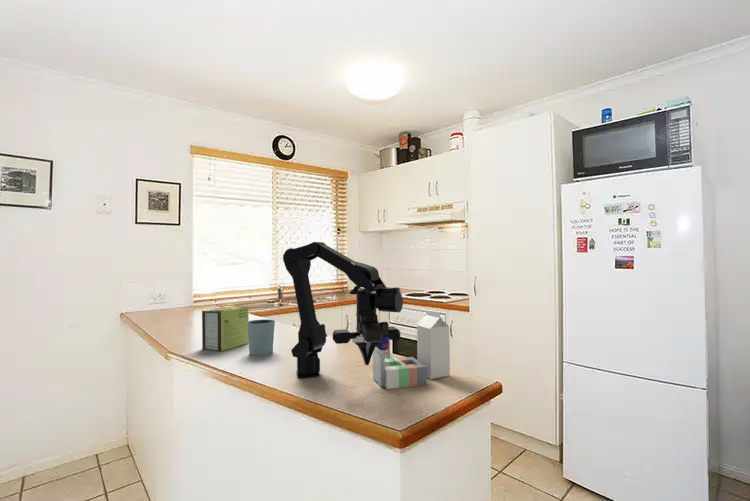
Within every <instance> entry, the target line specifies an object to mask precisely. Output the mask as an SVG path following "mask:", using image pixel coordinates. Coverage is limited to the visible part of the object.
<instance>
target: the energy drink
mask: <svg viewBox="0 0 750 501" xmlns="http://www.w3.org/2000/svg"><path fill="white" fill-rule="evenodd" d="M390 341H391V340H390V339H389V338H388V337H382V339H381V343H380V344H377V346H376V347H377V348H378V349H379V350H381V351H382V352H383V353H384V354H385V359H388V358H391V357H390V354H391V351H390V350H391V349H390V348H391V345H390V344H391V343H390Z"/></svg>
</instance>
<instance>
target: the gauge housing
mask: <svg viewBox="0 0 750 501" xmlns="http://www.w3.org/2000/svg"><path fill="white" fill-rule="evenodd" d="M397 358H398V359H399V360H400V361H401V362H403V363H404V364H405V365H406V368H403V367H402V366H401V365H399V366H396V361H395V360H393V359H392V358H391V357H390V358H388V359H385V386H383V387H384V388H385V389H386V390H391V389H392V390H393V389H400V388H408V387H410V388H411V387H416V386H424V385H428V381H427V367H426V366H425V365H423V364H422V363H421V362H419V361H418V360H417V359H416V358H415V357H413V356H408V357H406V356H405V357H397Z"/></svg>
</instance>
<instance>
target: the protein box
mask: <svg viewBox="0 0 750 501" xmlns="http://www.w3.org/2000/svg"><path fill="white" fill-rule="evenodd" d="M248 321H250V320H249V306H242V305H226V306H220V307H214V308H209V309H203V310H201V328H202V329H201V330H202V331H201V332H202V333H201V334H202V339H201V340H202V343H201V344H202V348H201V349H202V350H205V351H206V350H207V351H208V350H209V351H215V352H216V351H217V352H223V351H227V350H230V349H234V348H237V347H241V346H244V345H246V344H247V345H248V344H249V339H248V327H247V322H248Z"/></svg>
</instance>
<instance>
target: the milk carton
mask: <svg viewBox="0 0 750 501" xmlns="http://www.w3.org/2000/svg"><path fill="white" fill-rule="evenodd" d="M416 330H417V331H416V336H417V338H416V341H417V342H416V344H417V346H416V347H417V350H416V351H417V353H416V354H417V357H416V358H417V359H416V360H418V361H419V362H421V363H422V364H423V365H425V366H426V367H427V378H428V379H430V380H433V379H439V378H445V377H448V376H451V359H450V358H451V353H450V352H451V350H450V346H451V345H450V344H451V343H450V342H451V341H450V325H449V324H448V323H446V321H444V319H443V317H441V314H440V313H437V312H432V311H427V310H426V311H425V315H424V316H423V317H422V319H420V321H419V322H418V323H417V324H416Z"/></svg>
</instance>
